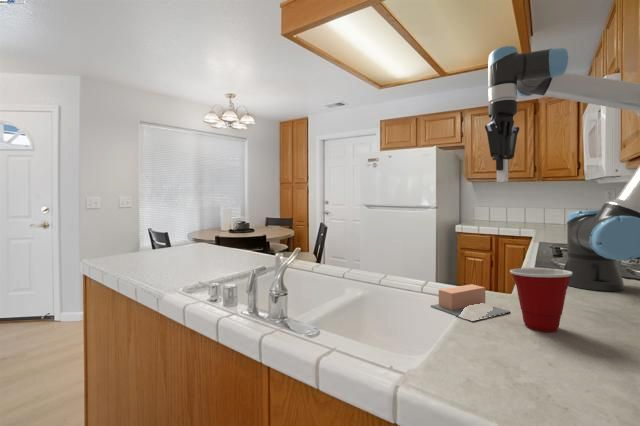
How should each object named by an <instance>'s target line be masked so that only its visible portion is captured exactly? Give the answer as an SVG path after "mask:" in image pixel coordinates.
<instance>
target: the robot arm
mask: <svg viewBox="0 0 640 426" xmlns="http://www.w3.org/2000/svg"><path fill="white" fill-rule="evenodd" d="M568 63H569V52H568V50H567V48H565V47H558V48H557V47H556V48H549V49H542V50H536V51H535V50H534V51H531V52H530V51H528V52H523V53H522V52H521V53H519V51H518V48H517V47H516V46H513V45H511V46H510V45H505V46H500V47H498V48H496V49H494V50H492V52H490V54H489V55H488V65H487V66H488V67H487V75H488V77H487V78H488V80H487V83H488V84H487V85H488V104H489V105H488V106H487V107H488V108H487V109H488V110H487V111H488V114H487V116H488V118H490V122H489V123H487V124H485V125H484V129H485V132H486V136H487V140H488V141H487V142H488V148H489V154H490V157H491V159H492V161H495V170H496V183H504V182H509V170H510V168H509V161H510V160H513V158H514V157H515V153H516V146H517V145H516V144H517V140H518V134H519V132H520V127H519V126H515V120H514V116H515V115H517V113H518V102H517V99H518V96H521V97H530V96H533V95H539V96H542V97H543V96H544V97H551V98H555V99H562V100H568V101H573V102H579V103H583V104H589V105H590V104H591V105H595V106H601V107H607V108H613V109H614V108H615V109H619V110H625V111H631V112H635V114H636V116H638V117H640V82H632V81H626V80H619V79H612V78H607V77H606V78H605V77H600V76H592V75H584V74H579V73H578V74H577V73H571V72H566V70H567V68H568ZM566 225H567V228H566V229H567V230H566V231H567V234H566V235H567V239H566V240H567V245H566V246H567V247H566V249H567V252H566V253H567V256H566V257H567V258H566V261H565V263H564V265H563V266H564V267H563V268H562V270H567V271H571V272H572V275H571V276H570V279H569V283H568V286H569V287H573V288H578V289H585V290H592V291H601V292H602V291H603V292H617V291H619V292H620V291H622V290H624V286H625V285H624V280H623V276H622V275H621V272H620V269H619V267H618V265H617V262H616V261H631V260H636V259H637V258H640V164H639V165H638V167H637V168H636V170H635V171H634V172H633V174H632V175H631V177H630V178H629V179H628V181H627V182H626V184H625V186H624V187H623V188H622V190H621V191H620V193H619V194H618V195H617V197H616V198H615V199H613V200H610V201H606V202H604V203H603V205H602V207H601V208H600V209H591V210H590V209H589V210H588V209H587V210H576V211H572V212H569V214H568V215H567V220H566Z"/></svg>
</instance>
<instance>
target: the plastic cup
mask: <svg viewBox="0 0 640 426" xmlns="http://www.w3.org/2000/svg"><path fill="white" fill-rule="evenodd" d="M509 272H510V273H509V274H511V275H512V277H513V281H514V283H515V285H516V286H515V287H516V290H517V296H518V301H519V307H520V310H521V314H522V320H523V323H524V326H525V327H527V329H528V328H529V329H530V330H534V331H538V332H544V333H554V332H557V331H558V329H559V328H560V322H561V317H562V315H563V309H564V306H565V299H566V295H567V289H568V288H569V287H568V283H569V279H570V276H571V275H572V272H571V271H567V270H563V269H560V268H559V269H558V268H544V267H541V268H540V267H537V268H536V267H534V268H532V267H531V268H529V267H527V268H523V267H522V268H513V269H509Z"/></svg>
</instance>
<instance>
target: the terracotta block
mask: <svg viewBox="0 0 640 426" xmlns="http://www.w3.org/2000/svg"><path fill="white" fill-rule="evenodd" d="M480 303H484V304H486V287H485V286H480V285H477V284H476V285H475V284H472V283H471V284H466V285H465V284H464V285H460V286H458V285H457V286H454V287H446V288H442V289H438V304H439V306H441V307H444V308H447V309H450V310H455V309H460V308H464V307H467V306H469V305H474V304H480Z"/></svg>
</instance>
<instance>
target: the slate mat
mask: <svg viewBox="0 0 640 426" xmlns="http://www.w3.org/2000/svg"><path fill="white" fill-rule="evenodd" d="M430 308H432V309H434V310H437V311H439V312H443V313H445V314H448V315H451V316H453V317H457V316H459V315H460V314H461V312H462V311H463V309H464V308H465V307H464V308H460V309H455V310H450V309H447V308H444V307H441V306H439V303H438V304H432V305H430ZM508 312H510V313H511V311H510V310H507V309H503V308H501V307H497V306H494V307H493V310H492V311H490V312H487V313H488V314H486V316H482V318H484V317H489V316H494V315H499V314H503V313H508ZM508 314H509V313H508ZM457 318H458V317H457ZM479 319H480V318H479Z"/></svg>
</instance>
